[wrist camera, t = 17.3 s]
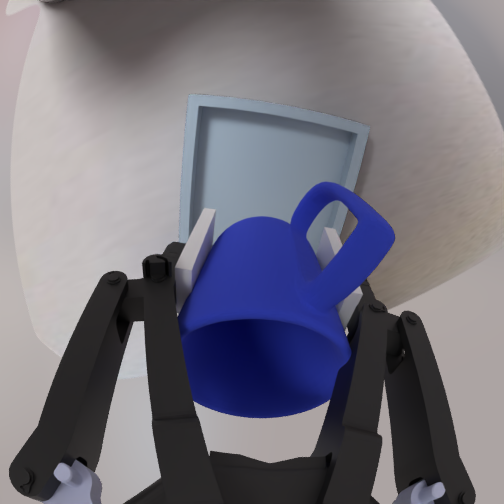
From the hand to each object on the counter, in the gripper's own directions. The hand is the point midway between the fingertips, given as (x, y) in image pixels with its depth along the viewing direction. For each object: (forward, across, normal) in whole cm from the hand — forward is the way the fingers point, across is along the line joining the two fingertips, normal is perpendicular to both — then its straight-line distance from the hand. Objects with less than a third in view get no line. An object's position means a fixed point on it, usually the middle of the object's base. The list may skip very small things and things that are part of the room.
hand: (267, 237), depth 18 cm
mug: (+1, +1, 0) cm, 1 cm away
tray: (+11, 0, -4) cm, 12 cm away
